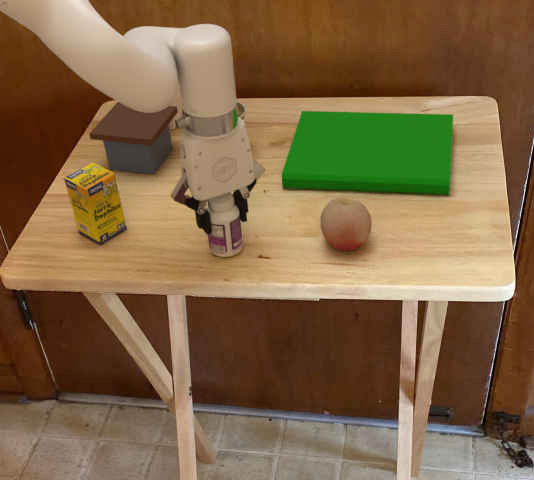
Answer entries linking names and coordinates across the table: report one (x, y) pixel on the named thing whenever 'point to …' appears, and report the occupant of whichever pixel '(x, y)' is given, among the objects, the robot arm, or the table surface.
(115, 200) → the supplement box
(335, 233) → the fruit
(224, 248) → the pill bottle
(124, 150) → the stand
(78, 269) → the table surface
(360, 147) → the book
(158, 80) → the robot arm
